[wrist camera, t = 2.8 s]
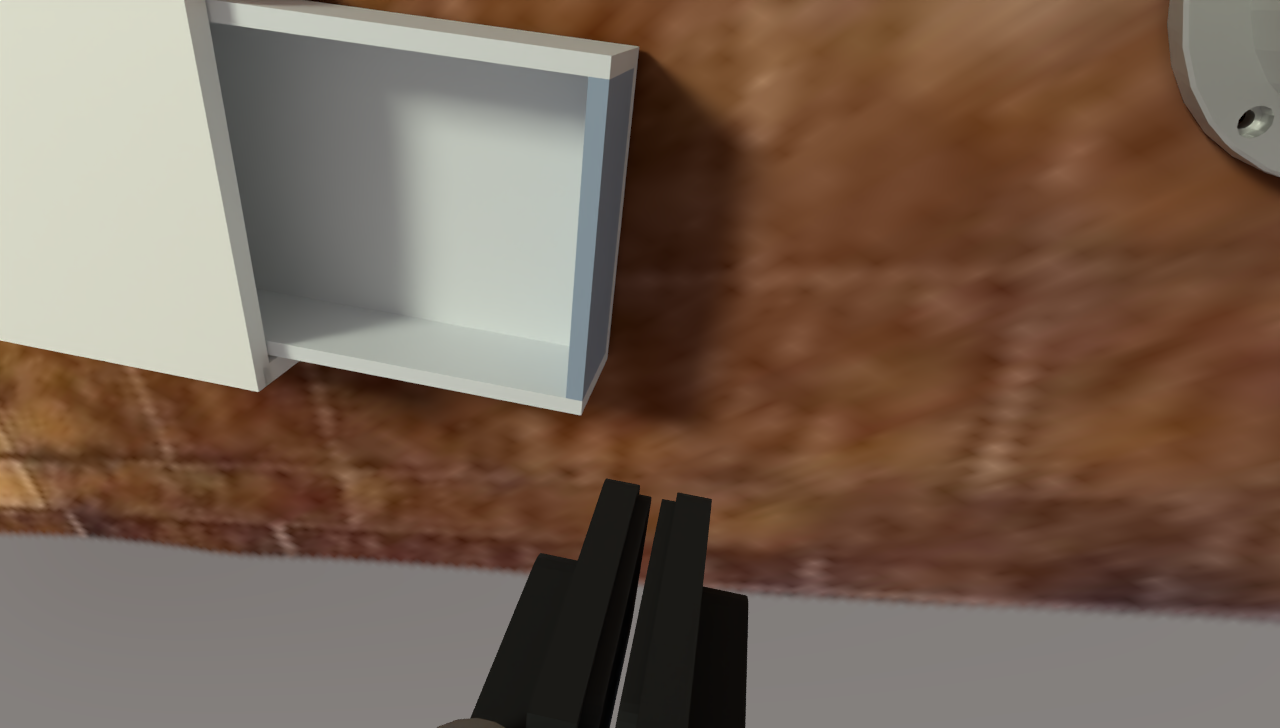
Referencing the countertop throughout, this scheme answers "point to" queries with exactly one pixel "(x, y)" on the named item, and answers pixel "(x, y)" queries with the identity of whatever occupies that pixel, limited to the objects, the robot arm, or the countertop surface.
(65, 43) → the sleeve
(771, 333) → the countertop surface
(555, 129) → the white sliding drawer box
